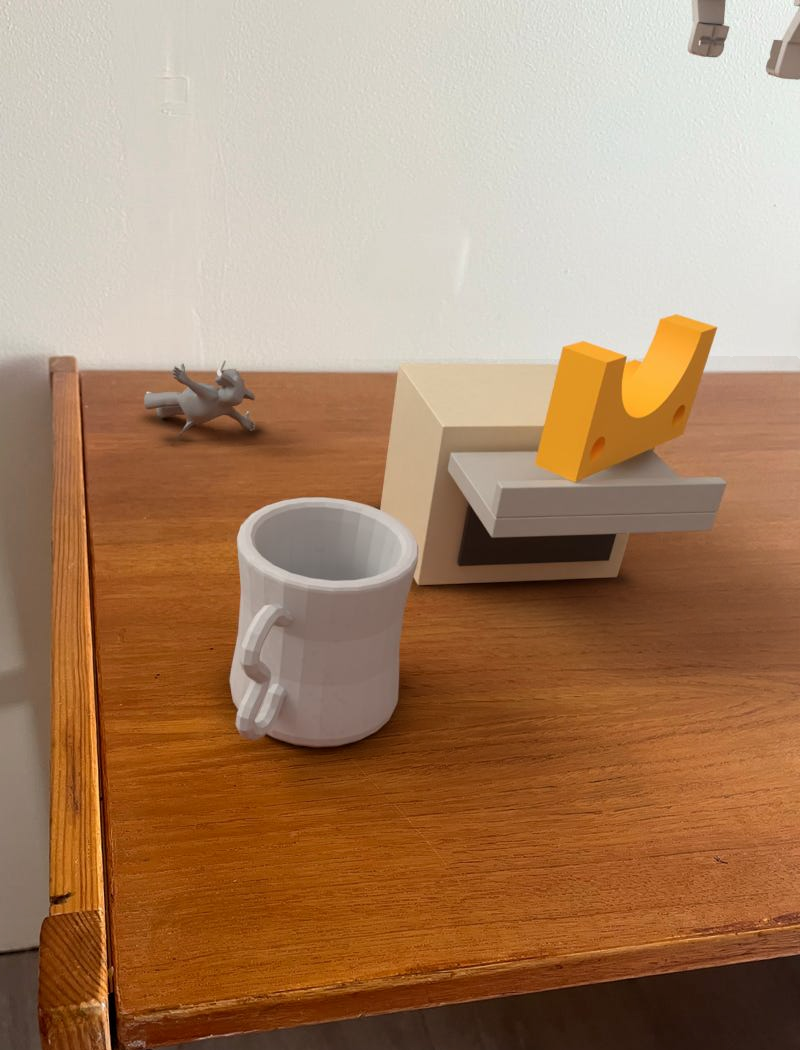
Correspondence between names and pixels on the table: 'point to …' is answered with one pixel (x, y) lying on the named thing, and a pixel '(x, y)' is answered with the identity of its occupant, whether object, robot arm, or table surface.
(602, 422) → the pipe clamp
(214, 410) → the grey sculpted figure
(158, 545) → the table surface
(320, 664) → the mug
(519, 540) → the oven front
